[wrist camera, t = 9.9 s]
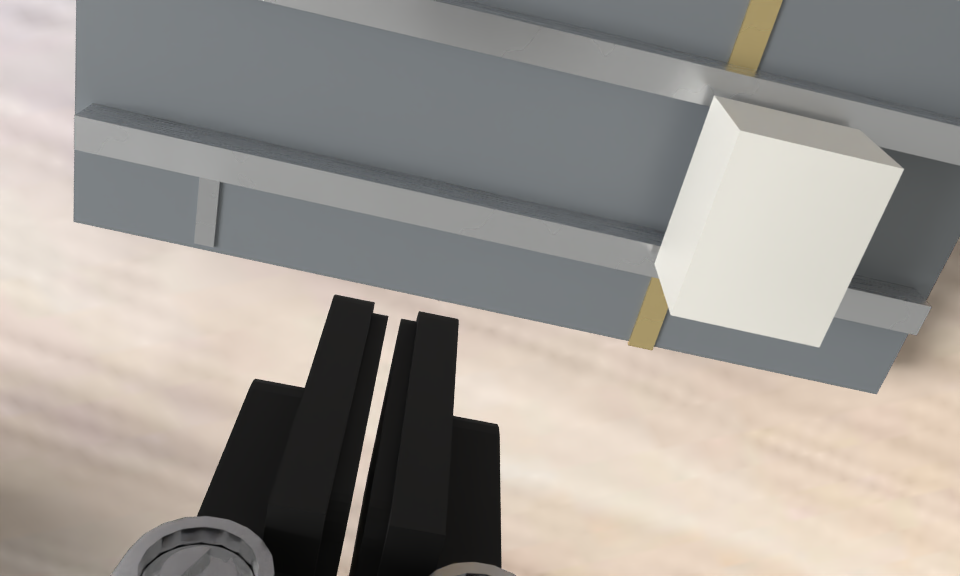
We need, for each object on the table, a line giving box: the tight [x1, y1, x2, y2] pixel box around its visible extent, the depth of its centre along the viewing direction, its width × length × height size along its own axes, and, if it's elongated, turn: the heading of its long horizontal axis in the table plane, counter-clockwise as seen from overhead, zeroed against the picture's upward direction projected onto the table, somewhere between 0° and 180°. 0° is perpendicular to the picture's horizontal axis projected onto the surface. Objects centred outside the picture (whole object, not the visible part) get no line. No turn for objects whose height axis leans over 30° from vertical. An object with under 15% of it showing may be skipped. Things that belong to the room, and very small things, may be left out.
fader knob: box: [654, 95, 904, 347], centre depth 24 cm, size 5×4×4 cm
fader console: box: [74, 0, 960, 394], centre depth 26 cm, size 12×26×3 cm, turn 77°
